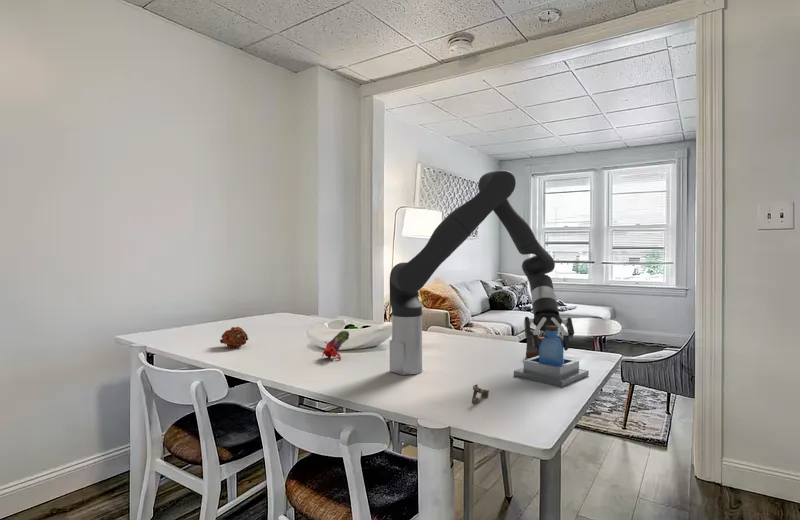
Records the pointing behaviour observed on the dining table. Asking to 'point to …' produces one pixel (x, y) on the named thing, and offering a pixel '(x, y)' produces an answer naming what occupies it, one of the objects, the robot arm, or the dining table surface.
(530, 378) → the grey square frame
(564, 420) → the dining table surface
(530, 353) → the electronic device
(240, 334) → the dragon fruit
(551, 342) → the perfume bottle
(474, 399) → the wooden post with brackets
